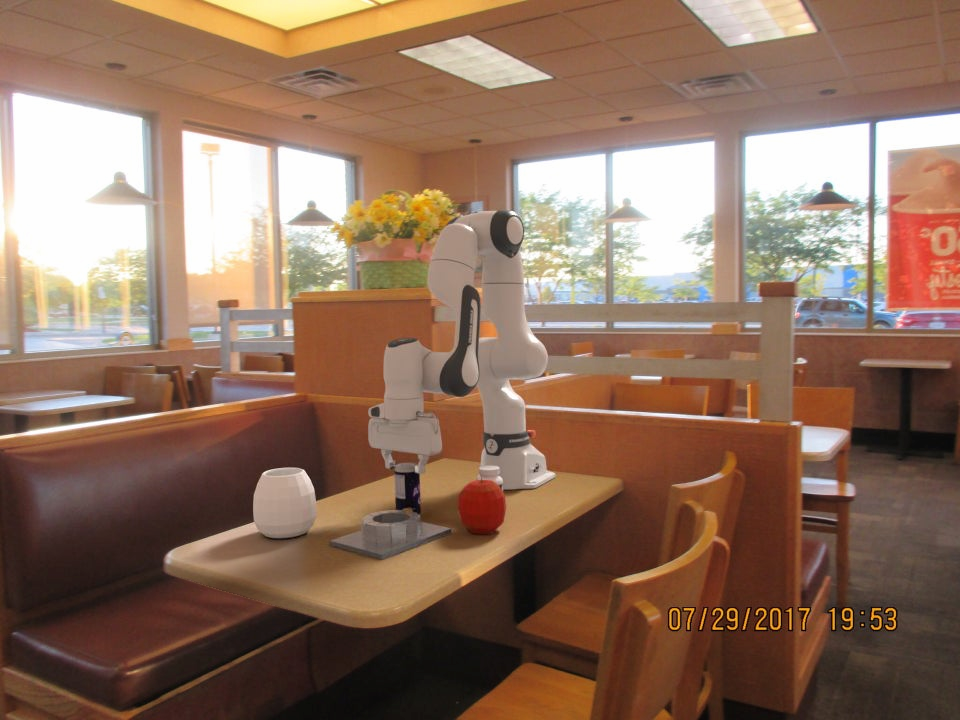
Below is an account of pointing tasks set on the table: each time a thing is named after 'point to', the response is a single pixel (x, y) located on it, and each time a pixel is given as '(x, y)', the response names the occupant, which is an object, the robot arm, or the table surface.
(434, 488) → the table surface
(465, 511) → the apple
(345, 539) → the hub plate
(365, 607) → the table surface
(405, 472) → the beverage can
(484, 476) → the pill bottle
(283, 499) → the cup
